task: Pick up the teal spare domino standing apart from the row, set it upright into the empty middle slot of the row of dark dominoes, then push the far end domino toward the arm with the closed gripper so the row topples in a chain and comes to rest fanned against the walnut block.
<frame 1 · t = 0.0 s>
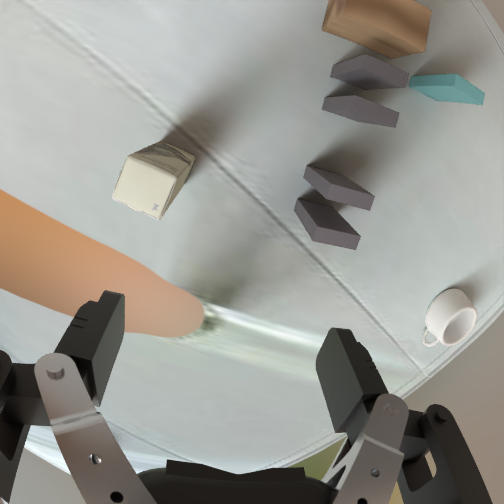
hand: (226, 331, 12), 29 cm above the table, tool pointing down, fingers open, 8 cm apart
domino 1: (350, 77, 34), on the table
mug: (439, 312, 51), on the table
domino 5: (313, 208, 41), on the table
domino 2: (341, 109, 35), on the table
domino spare: (424, 88, 34), on the table
box: (170, 163, 37), on the table
domino 4: (323, 176, 39), on the table
end block: (362, 25, 30), on the table
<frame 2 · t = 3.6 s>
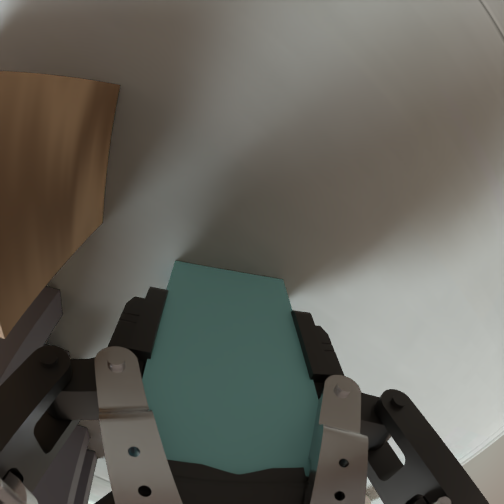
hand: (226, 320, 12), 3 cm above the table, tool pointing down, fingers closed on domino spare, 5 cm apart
domino 1: (25, 292, 14), on the table
domino 5: (71, 448, 21), on the table
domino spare: (226, 285, 15), on the table, touching gripper
domino 4: (61, 424, 20), on the table
end block: (17, 146, 11), on the table
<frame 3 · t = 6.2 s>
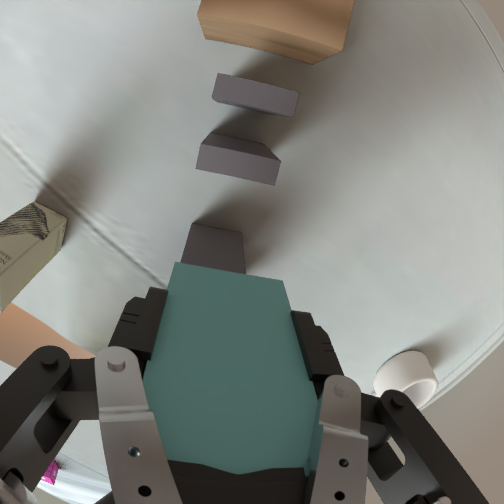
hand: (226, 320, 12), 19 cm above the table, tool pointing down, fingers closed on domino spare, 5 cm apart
domino 1: (246, 99, 26), on the table
mug: (392, 374, 44), on the table
domino 2: (235, 146, 28), on the table
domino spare: (226, 286, 15), point 17 cm above the table, touching gripper
box: (47, 224, 30), on the table
domino 4: (215, 235, 32), on the table
puzzle toy: (47, 460, 55), on the table
end block: (267, 22, 23), on the table
when the fingers open (3 cm above the table, at t = 9.1 s): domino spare stays where it is, on the table.
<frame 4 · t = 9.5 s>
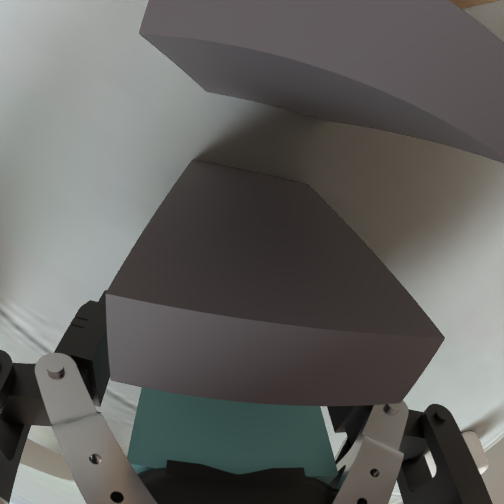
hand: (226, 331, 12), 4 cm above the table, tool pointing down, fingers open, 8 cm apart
domino 1: (272, 86, 11), on the table
mug: (435, 455, 29), on the table
domino 2: (247, 189, 13), on the table
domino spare: (226, 282, 15), on the table
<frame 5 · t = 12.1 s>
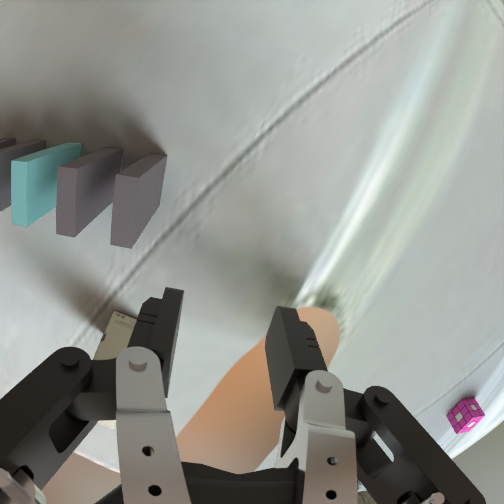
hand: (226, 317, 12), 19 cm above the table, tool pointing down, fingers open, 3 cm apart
domino 1: (9, 160, 26), on the table
tabletop clock: (349, 486, 65), on the table
domino 5: (155, 179, 29), on the table
domino 2: (38, 163, 27), on the table
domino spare: (73, 166, 27), on the table
box: (126, 329, 36), on the table
domino 4: (111, 172, 28), on the table
puzzle toy: (460, 406, 53), on the table
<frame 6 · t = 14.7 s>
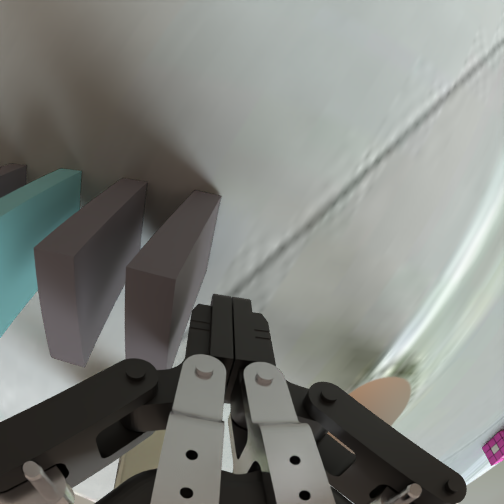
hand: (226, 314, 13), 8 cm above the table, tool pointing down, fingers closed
domino 5: (200, 232, 19), on the table, tilted 6°, touching gripper
domino 2: (17, 199, 17), on the table
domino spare: (69, 207, 18), on the table
box: (154, 409, 27), on the table
domino 4: (130, 218, 19), on the table
puzzle toy: (495, 437, 43), on the table
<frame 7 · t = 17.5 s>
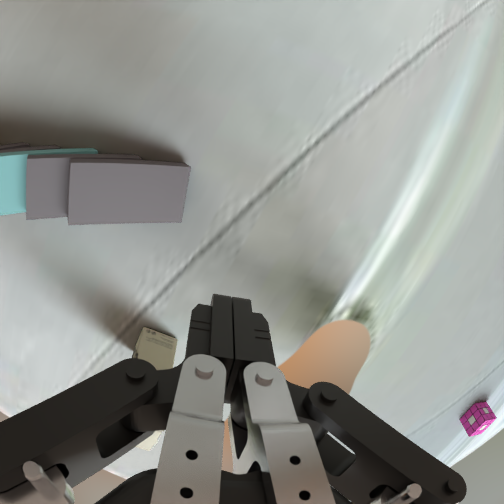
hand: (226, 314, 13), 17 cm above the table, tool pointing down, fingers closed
domino 1: (24, 167, 25), on the table, tilted 28°, touching domino 2, end block
domino 5: (182, 192, 27), point 1 cm above the table, tilted 62°, touching domino 4
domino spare: (92, 176, 26), point 1 cm above the table, tilted 50°, touching domino 2, domino 4
box: (155, 345, 35), on the table
domino 4: (135, 183, 26), point 1 cm above the table, tilted 57°, touching domino 5, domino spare
puzzle toy: (472, 409, 52), on the table
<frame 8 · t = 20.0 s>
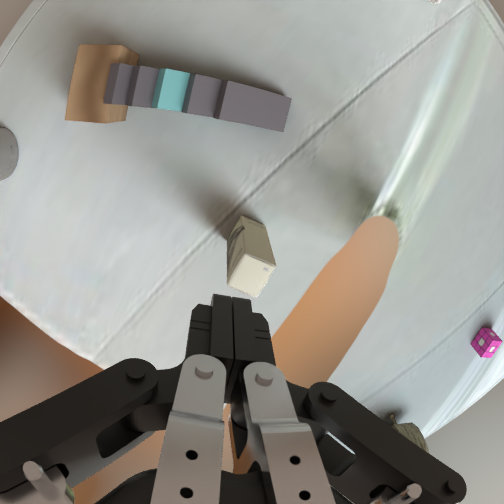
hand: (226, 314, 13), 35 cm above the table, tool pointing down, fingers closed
domino 1: (163, 90, 39), on the table, tilted 28°, touching domino 2, end block
tabletop clock: (388, 423, 78), on the table
domino 5: (284, 114, 41), point 1 cm above the table, tilted 62°, touching domino 4
domino 2: (192, 95, 39), point 1 cm above the table, tilted 40°, touching domino 1, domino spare
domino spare: (222, 99, 40), point 1 cm above the table, tilted 50°, touching domino 2, domino 4
box: (245, 234, 49), on the table
domino 4: (253, 106, 40), point 1 cm above the table, tilted 57°, touching domino 5, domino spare
puzzle toy: (480, 336, 66), on the table
end block: (112, 85, 38), on the table
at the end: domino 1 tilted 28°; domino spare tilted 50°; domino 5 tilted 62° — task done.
